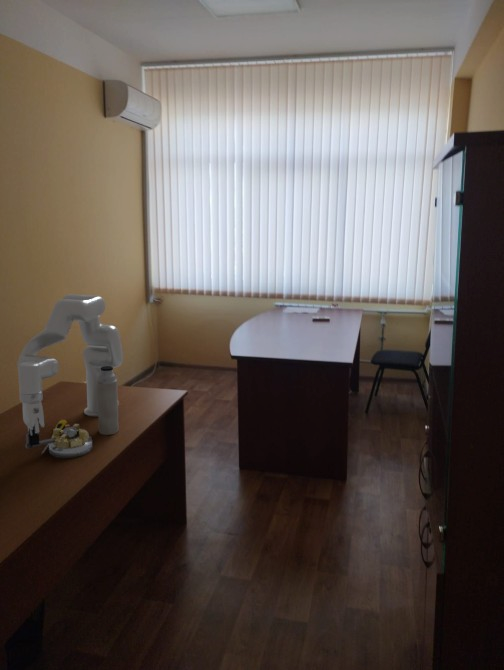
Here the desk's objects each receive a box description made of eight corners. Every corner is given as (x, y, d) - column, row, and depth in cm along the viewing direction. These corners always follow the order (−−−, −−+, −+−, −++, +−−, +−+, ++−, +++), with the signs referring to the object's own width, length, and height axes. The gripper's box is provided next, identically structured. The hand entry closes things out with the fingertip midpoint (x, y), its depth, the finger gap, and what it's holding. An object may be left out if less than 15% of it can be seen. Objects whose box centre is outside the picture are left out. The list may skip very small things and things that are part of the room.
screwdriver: (59, 418, 229) (36, 450, 200) (67, 419, 229) (45, 450, 200) (60, 426, 230) (36, 458, 201) (68, 426, 230) (46, 458, 201)
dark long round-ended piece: (80, 431, 217) (79, 416, 215) (93, 442, 207) (92, 427, 205) (21, 445, 203) (20, 429, 201) (31, 457, 193) (30, 441, 192)
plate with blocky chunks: (81, 435, 221) (80, 416, 219) (98, 451, 207) (98, 431, 205) (41, 444, 211) (40, 425, 210) (57, 461, 198) (56, 441, 196)
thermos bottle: (106, 426, 231) (104, 363, 225) (122, 428, 229) (120, 365, 222) (95, 432, 224) (92, 368, 217) (111, 436, 221) (109, 370, 215)
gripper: (48, 400, 188) (51, 449, 192) (35, 388, 199) (38, 435, 203) (26, 404, 183) (29, 454, 187) (14, 392, 194) (17, 439, 198)
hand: (34, 444), depth 195 cm, fingers closed
